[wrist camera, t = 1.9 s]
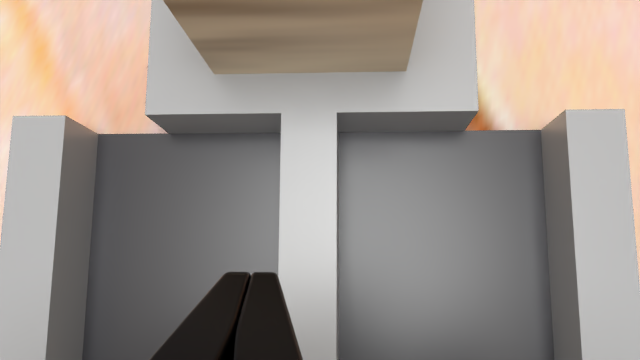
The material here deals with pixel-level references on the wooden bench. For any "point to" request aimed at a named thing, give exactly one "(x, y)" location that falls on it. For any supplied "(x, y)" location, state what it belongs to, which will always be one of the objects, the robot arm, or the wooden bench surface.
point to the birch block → (300, 34)
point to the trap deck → (324, 214)
